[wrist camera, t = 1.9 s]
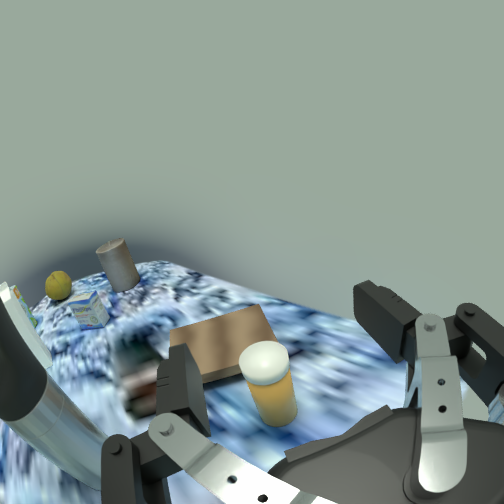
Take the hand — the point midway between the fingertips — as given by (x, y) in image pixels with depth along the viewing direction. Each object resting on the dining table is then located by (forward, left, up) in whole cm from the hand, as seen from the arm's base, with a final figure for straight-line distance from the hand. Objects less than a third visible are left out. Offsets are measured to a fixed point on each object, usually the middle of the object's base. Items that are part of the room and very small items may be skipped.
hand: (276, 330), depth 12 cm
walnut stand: (-5, +25, -24) cm, 35 cm away
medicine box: (-37, +48, -25) cm, 65 cm away
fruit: (-59, +72, -25) cm, 96 cm away
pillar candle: (-31, +67, -25) cm, 78 cm away
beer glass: (0, +11, -24) cm, 27 cm away
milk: (-51, +35, -25) cm, 67 cm away
